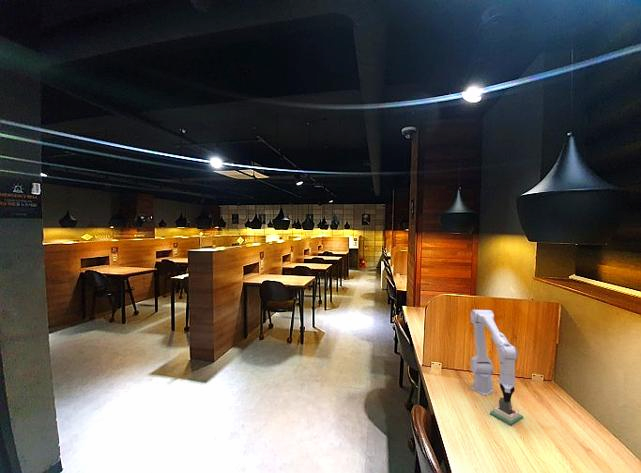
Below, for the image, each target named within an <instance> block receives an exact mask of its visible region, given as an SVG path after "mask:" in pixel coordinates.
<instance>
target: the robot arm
mask: <svg viewBox="0 0 641 473" xmlns="http://www.w3.org/2000/svg"><path fill="white" fill-rule="evenodd" d="M470 322H471V325H472V324H473V332H474V342H475V343H474V345H475V355H474V356H472V357H471V358H470V369H471V372H472V373H473V374H474V375H473V386H471V387H470V389H471V390H473V391H475V392H476V393H479V394H481V395H482V396H487V395H489V394H491V393H493V392H495V390H494V389H493V385H494V384H493V382H494V381H493V380H494V379H493V376H492V375H493V374H494V370H495V369H494V366H493V361H492V360H491V359H490V358H489V357H488V356H487V354H488V353H487V344H486V334H485V326H486V328H487V329H488V330H489V332H490V333H491V339H492V341H493V343H494V345H495V346H496V348H497V350H496V351H497V355H498V361H499V378H496V382H498V383H499V387H500V390H501V393H502V396H503V397H502V398H504V401H506V402H509V403H510V400H511V401H512V396H513V394H514V392H515V386H516V383H515V381H516V378H515V377H516V360H517V359H518V358H519V353H518V352H519V351H518V350H517V348H516V346H513V344H510V342H509V340H508V339H507V337H506V336H505V334H504V333H503V332H500V330H499V328H498V326H497V324H496V322H495V314H494V312H493V310H491V309H475V308H473V309H472V310H471V311H470Z"/></svg>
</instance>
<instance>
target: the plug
mask: <svg viewBox="0 0 641 473" xmlns="http://www.w3.org/2000/svg"><path fill="white" fill-rule="evenodd" d="M512 405H513V404H512V399H511V400H510V403H509V402H506V401H504V398H503V397H501V396H500V398H499V400H498V406H499V407H500V410H501V411H503V412H505V413H507V414H509V415H510V414H512V413H516V411H517V410H516V409H514V410H512V409H513V406H512ZM515 410H516V411H515Z"/></svg>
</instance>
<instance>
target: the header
mask: <svg viewBox="0 0 641 473" xmlns="http://www.w3.org/2000/svg"><path fill="white" fill-rule="evenodd" d="M493 410H494V412H495V413H497V414H498V415H500V416H502V417H504V418H506V419H508V420H509V421H512V420H514V419H515V418H517V417H519V414H520V411H518V410H516V409H514V408H512V410H515V411H516V413H512V414H510V415H509V414H507V413H505V412H503V411H501V410H500V407H499V405H497V406H495V407H494V408H493Z"/></svg>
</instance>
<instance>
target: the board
mask: <svg viewBox="0 0 641 473" xmlns="http://www.w3.org/2000/svg"><path fill="white" fill-rule="evenodd" d="M489 415H490V416H492V417H494V418H496V419H497V420H499V421H501V422H503V423H505V424H506V425H508V426H510V427H511V426H513V425H515V424H516V423H518V422H520V421H521V420H522V419H524V415H522V414H520V413H519V417H517V418H515V419H514V420H512V421H509V420H508V419H506V418H504V417H502V416H500V415H498V414H497V413H495V412H494V409H493V410H491V411H490V412H489Z"/></svg>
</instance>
